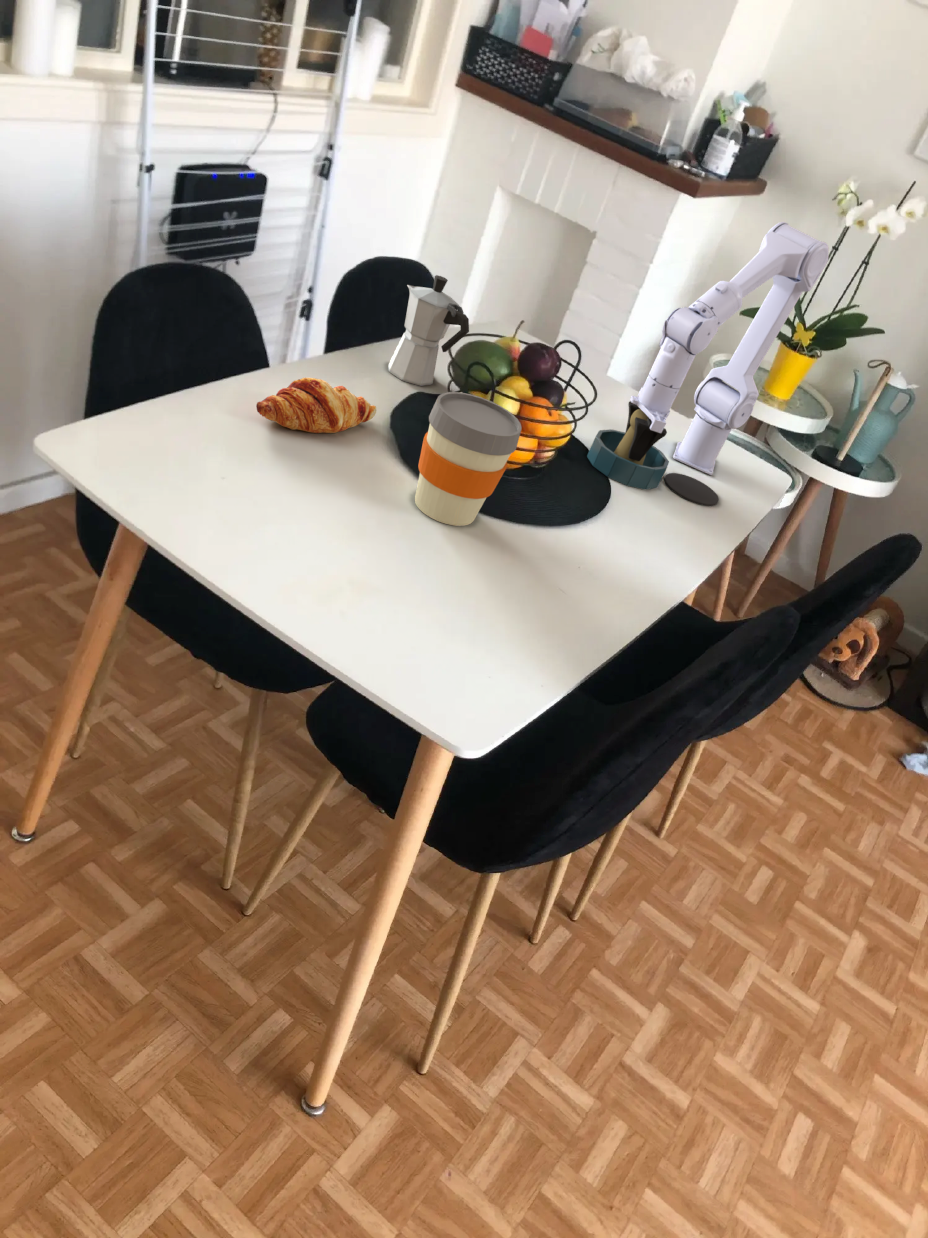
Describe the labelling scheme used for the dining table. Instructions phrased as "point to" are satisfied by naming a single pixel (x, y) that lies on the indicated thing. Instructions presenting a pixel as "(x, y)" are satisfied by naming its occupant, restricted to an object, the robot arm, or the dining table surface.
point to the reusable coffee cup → (463, 456)
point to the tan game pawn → (630, 438)
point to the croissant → (316, 407)
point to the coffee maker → (426, 332)
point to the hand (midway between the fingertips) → (631, 451)
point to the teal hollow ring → (626, 462)
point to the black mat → (691, 489)
